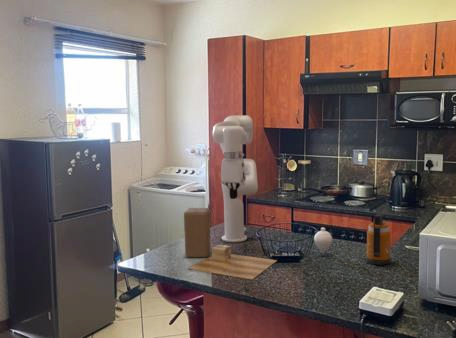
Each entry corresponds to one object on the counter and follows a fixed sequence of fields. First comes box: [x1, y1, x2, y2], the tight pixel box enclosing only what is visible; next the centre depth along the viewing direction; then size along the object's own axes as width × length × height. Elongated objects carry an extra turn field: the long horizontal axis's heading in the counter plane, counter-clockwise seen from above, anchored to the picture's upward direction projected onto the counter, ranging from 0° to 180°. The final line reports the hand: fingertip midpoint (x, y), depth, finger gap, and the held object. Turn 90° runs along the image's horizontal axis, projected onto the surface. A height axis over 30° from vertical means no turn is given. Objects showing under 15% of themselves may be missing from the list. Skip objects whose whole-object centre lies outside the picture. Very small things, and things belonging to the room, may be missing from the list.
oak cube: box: [211, 244, 232, 261], centre depth 190 cm, size 6×6×5 cm
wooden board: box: [188, 253, 278, 280], centre depth 182 cm, size 24×28×1 cm
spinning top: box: [313, 227, 333, 256], centre depth 192 cm, size 8×8×12 cm
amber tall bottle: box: [366, 213, 391, 266], centre depth 180 cm, size 9×11×20 cm
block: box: [183, 207, 212, 258], centre depth 196 cm, size 10×10×20 cm
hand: (233, 198), depth 193 cm, fingers closed
